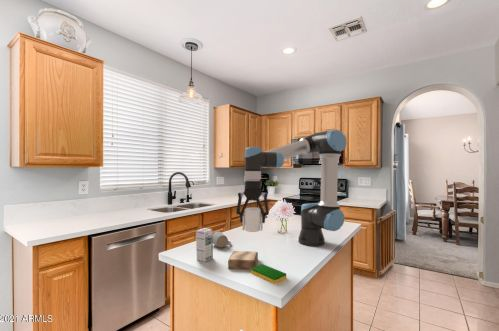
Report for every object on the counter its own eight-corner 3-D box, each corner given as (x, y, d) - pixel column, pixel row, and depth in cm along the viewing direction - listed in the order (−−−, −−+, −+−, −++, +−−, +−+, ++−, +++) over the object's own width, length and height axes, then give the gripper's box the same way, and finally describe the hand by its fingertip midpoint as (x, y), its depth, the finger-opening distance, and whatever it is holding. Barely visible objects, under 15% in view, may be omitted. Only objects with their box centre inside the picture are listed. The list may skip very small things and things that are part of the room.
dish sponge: (262, 269, 109) (262, 263, 109) (286, 279, 99) (286, 273, 99) (250, 273, 105) (250, 268, 105) (275, 285, 94) (274, 278, 94)
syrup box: (205, 262, 117) (204, 231, 117) (196, 259, 120) (195, 229, 120) (213, 258, 122) (212, 228, 122) (204, 256, 125) (203, 227, 125)
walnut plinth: (257, 259, 120) (257, 251, 120) (255, 269, 108) (255, 260, 108) (233, 258, 121) (233, 250, 121) (228, 268, 109) (228, 259, 109)
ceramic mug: (216, 249, 135) (217, 235, 135) (210, 245, 142) (211, 232, 142) (233, 246, 141) (234, 232, 141) (227, 242, 148) (227, 229, 148)
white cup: (243, 228, 118) (243, 207, 118) (259, 228, 118) (259, 207, 119) (244, 232, 110) (245, 210, 110) (262, 232, 111) (262, 210, 111)
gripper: (275, 180, 117) (274, 228, 117) (232, 179, 119) (232, 227, 119) (274, 181, 110) (274, 232, 109) (229, 180, 112) (229, 231, 111)
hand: (252, 229), depth 114 cm, fingers closed on white cup, 8 cm apart
